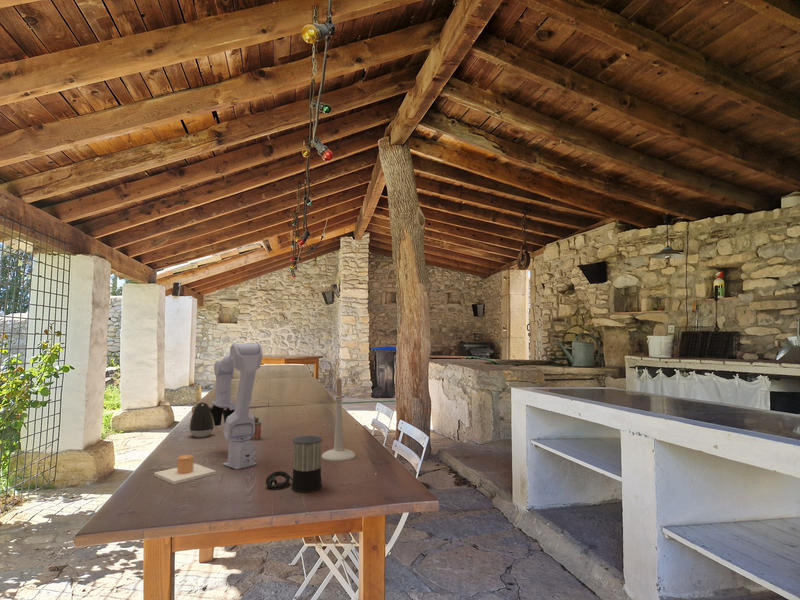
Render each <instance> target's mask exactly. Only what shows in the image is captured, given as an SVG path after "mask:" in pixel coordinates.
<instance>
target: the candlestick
mask: <svg viewBox="0 0 800 600" xmlns="http://www.w3.org/2000/svg"><path fill="white" fill-rule="evenodd" d="M342 380H343V379H342V378H340V377H337V378H336V388H335V390H336V395H334V396H333V397H334V398H335V401H336V405H335V406H336V409H335V425H334V441H333V442H334V443H333V448H332V449H329V450H326V451H325V452H323V453H321V460H323V459H324V461H326V460H329V461H328V462H346V460H347V461H350V460H353V459H355V458H356V457H357V456H356V453H355V452H354V451H353V450H350V449H348V448H345V447H344V434H343V430H344V429H343V410H342V409H343V408H342V406H343V405H342V402H343V399H344V398H343V397H344V395H342V389H343V387H342V385H343V383H342V382H343V381H342Z"/></svg>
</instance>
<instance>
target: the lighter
mask: <svg viewBox="0 0 800 600" xmlns="http://www.w3.org/2000/svg"><path fill="white" fill-rule="evenodd" d="M253 417H254V419H255V432H254V434H253V436H252V437H251V439H250V441H253V440H254V441H261V440H262V437H261V435H262V429H261V428H262V421H259V420H260V419H259V418H260V417H258V416H255V415H253ZM260 439H261V440H260Z"/></svg>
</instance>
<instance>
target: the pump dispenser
mask: <svg viewBox="0 0 800 600" xmlns="http://www.w3.org/2000/svg"><path fill="white" fill-rule="evenodd" d="M209 408H211V407H210V406H209V404H208V403H207V402H198V403H197V405H196V406H195V408H194V409H193V412H192V414H191V419H190V422H189V430H190V435H192V437H195V438H196V439H201V438H202V439H203V438H206V437H209V436H210V435H211V434H212V433H213V430H214V428H215V424H214V420H213V416H212V414H211V412H210V410H209Z"/></svg>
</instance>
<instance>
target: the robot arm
mask: <svg viewBox="0 0 800 600" xmlns="http://www.w3.org/2000/svg"><path fill="white" fill-rule="evenodd" d="M262 360H263V347H262V345H261V343H260V342H256V343H255V342H253V343H252V342H251V343H250V342H249V343H235V342H234V343H232V344H231V345H230V349H229V352H228V353H226V355H225V356H224V357H222V359H221V360H215V362H214V365H213V372H214V376H215V400H213V401H211V402H210V403H211V405H210V406H211V407H210V408H209V410H210V412H211V414H212V416H213V421H214V427H217V426H221V424H222V417H223V421H224V423H223V429H222V430H223V431H222V433H223V436H224V439H225V440H226V441H227V442H228V446H227V448H228V449H227V451H228V452H227V453H228V454H227V461H226V462H223V463H222V465H223V466H226V467H229V468H232V469H235V470H240V469H241V470H242V469H243V468H248V467H253V466H256V465H257V464H258V463H257V462H255V459H256V458H255V457H256V455H255V453H256V452H255V451H256V447H255V445H254V443H253V442H252V441H251V440H250V439H251V437H252V436H253V434H254V432H255V419H254V417H253V416H254V415H253V414H252V413H250V407H251V401H252V395H253V389H254V384H255V378H256V373H257V372H256V371H257V370H259V369H260V368H261V364H262ZM235 370H236V371H238V372H239V373H240V375H239V381H238V386H237V388H238V389H237V393H236V400H235V403H234V401H232V380H233V377H234V376H233V375H234V373H235ZM255 464H256V465H255Z"/></svg>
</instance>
